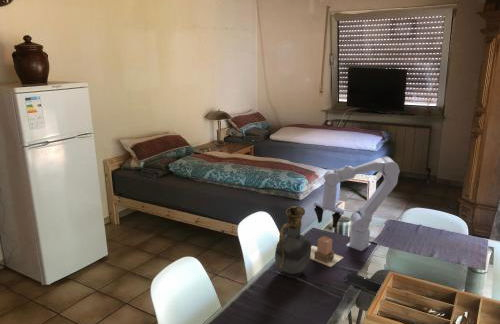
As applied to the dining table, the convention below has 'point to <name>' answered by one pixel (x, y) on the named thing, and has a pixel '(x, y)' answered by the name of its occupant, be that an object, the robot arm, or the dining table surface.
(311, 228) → the dining table surface
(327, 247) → the top block
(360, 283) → the phone
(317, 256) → the base block
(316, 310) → the dining table surface
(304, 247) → the pitcher
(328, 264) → the board
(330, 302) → the dining table surface
